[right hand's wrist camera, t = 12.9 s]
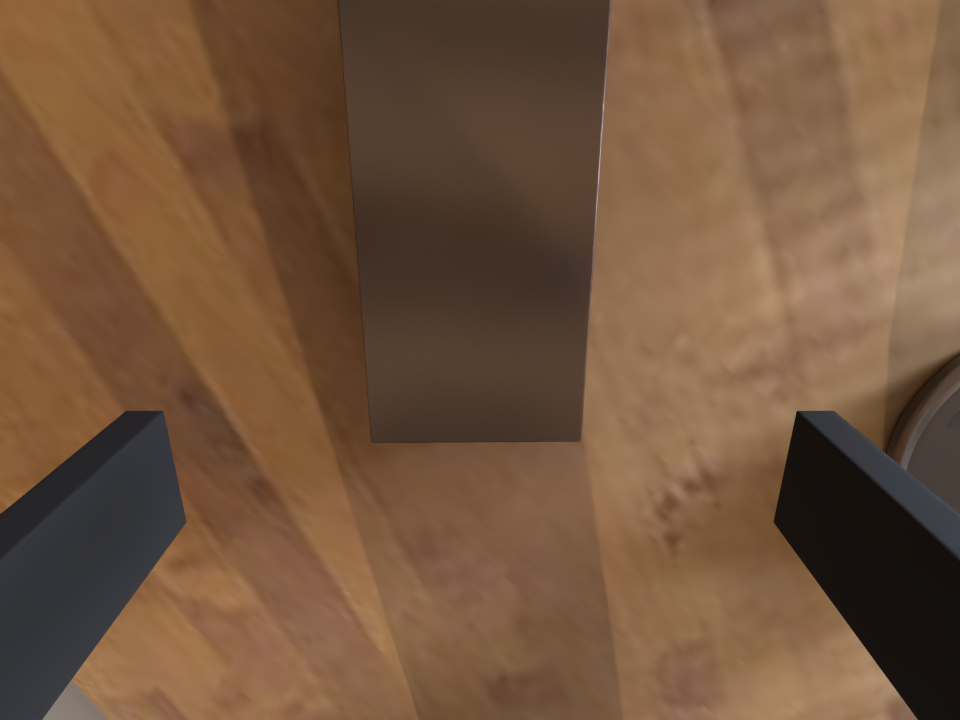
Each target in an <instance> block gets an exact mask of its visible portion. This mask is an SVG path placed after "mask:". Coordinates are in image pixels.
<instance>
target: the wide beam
mask: <svg viewBox="0 0 960 720" xmlns="http://www.w3.org/2000/svg"><path fill="white" fill-rule="evenodd" d="M610 12H611V0H338V13H339V26H340V39H341V52H342V65H343V78H344V91H345V104H346V118H347V131H348V144H349V157H350V170H351V183H352V196H353V209H354V222H355V236H356V249H357V262H358V275H359V288H360V301H361V314H362V327H363V341H364V354H365V367H366V380H367V393H368V406H369V419H370V432H371V442H372V443H427V442H580V441H581V435H582V420H583V406H584V391H585V377H586V362H587V347H588V333H589V318H590V304H591V289H592V274H593V260H594V245H595V231H596V216H597V202H598V187H599V172H600V158H601V143H602V129H603V114H604V100H605V85H606V70H607V56H608V41H609V27H610Z"/></svg>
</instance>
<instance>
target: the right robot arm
mask: <svg viewBox="0 0 960 720" xmlns="http://www.w3.org/2000/svg"><path fill="white" fill-rule="evenodd" d="M185 523H186V518H185V513H184V508H183V503H182V499H181V494H180V489H179V484H178V480H177V475H176V470H175V465H174V460H173V456H172V451H171V446H170V441H169V437H168V432H167V427H166V422H165V417H164V413H163V411H126V412H124V413H123V414H122V415H121V416H120V417H118V418H117V419H116V420H115V421H113V422H112V423H111V424H110V425H109V426H107V427H106V428H105V429H104V430H102V431H101V432H100V433H99V434H98V435H96V436H95V437H94V438H93V439H92V440H90V441H89V442H88V443H87V444H85V445H84V446H83V447H82V448H81V449H79V450H78V451H77V452H76V453H74V454H73V455H72V456H71V457H70V458H68V459H67V460H66V461H65V462H64V463H62V464H61V465H60V466H59V467H57V468H56V469H55V470H54V471H53V472H51V473H50V474H49V475H48V476H46V477H45V478H44V479H43V480H42V481H40V482H39V483H38V484H37V485H36V486H34V487H33V488H32V489H31V490H29V491H28V492H27V493H26V494H25V495H23V496H22V497H21V498H20V499H18V500H17V501H16V502H15V503H14V504H12V505H11V506H10V507H9V508H8V509H6V510H5V511H4V512H3V513H1V514H0V720H42V719H43V718H44V716H45V715H46V714H47V712H48V711H49V709H50V708H51V707H52V705H53V704H54V703H55V701H56V700H57V699H58V697H59V696H60V694H61V693H62V692H63V690H64V689H65V688H66V686H67V685H68V683H69V682H70V681H71V679H72V678H73V677H74V675H75V674H76V673H77V671H78V670H79V668H80V667H81V666H82V664H83V663H84V662H85V660H86V659H87V657H88V656H89V655H90V653H91V652H92V651H93V649H94V648H95V647H96V645H97V644H98V642H99V641H100V640H101V638H102V637H103V636H104V634H105V633H106V631H107V630H108V629H109V627H110V626H111V625H112V623H113V622H114V621H115V619H116V618H117V616H118V615H119V614H120V612H121V611H122V610H123V608H124V607H125V605H126V604H127V603H128V601H129V600H130V599H131V597H132V596H133V595H134V593H135V592H136V590H137V589H138V588H139V586H140V585H141V584H142V582H143V581H144V579H145V578H146V577H147V575H148V574H149V573H150V571H151V570H152V569H153V567H154V566H155V564H156V563H157V562H158V560H159V559H160V558H161V556H162V555H163V553H164V552H165V551H166V549H167V548H168V547H169V545H170V544H171V543H172V541H173V540H174V538H175V537H176V536H177V534H178V533H179V532H180V530H181V529H182V527H183V526H184V525H185ZM774 523H775V525H776V526H777V528H778V529H779V530H780V532H781V533H782V534H783V536H784V537H785V538H786V540H787V541H788V543H789V544H790V545H791V547H792V548H793V549H794V551H795V552H796V553H797V555H798V556H799V558H800V559H801V560H802V562H803V563H804V564H805V566H806V567H807V569H808V570H809V571H810V573H811V574H812V575H813V577H814V578H815V579H816V581H817V582H818V584H819V585H820V586H821V588H822V589H823V590H824V592H825V593H826V595H827V596H828V597H829V599H830V600H831V601H832V603H833V604H834V605H835V607H836V608H837V610H838V611H839V612H840V614H841V615H842V616H843V618H844V619H845V621H846V622H847V623H848V625H849V626H850V627H851V629H852V630H853V631H854V633H855V634H856V636H857V637H858V638H859V640H860V641H861V642H862V644H863V645H864V647H865V648H866V649H867V651H868V652H869V653H870V655H871V656H872V657H873V659H874V660H875V662H876V663H877V664H878V666H879V667H880V668H881V670H882V671H883V673H884V674H885V675H886V677H887V678H888V679H889V681H890V682H891V683H892V685H893V686H894V688H895V689H896V690H897V692H898V693H899V694H900V696H901V697H902V699H903V700H904V701H905V703H906V704H907V705H908V707H909V708H910V709H911V711H912V712H913V714H914V715H915V716H916V718H917V719H918V720H960V356H958V357H957V358H955V359H954V360H952V361H951V362H950V363H949V364H947V365H946V366H945V367H944V368H942V369H941V370H940V371H939V372H938V373H937V374H936V375H935V376H933V377H932V378H931V379H930V380H929V381H928V382H927V383H926V385H925V386H924V387H923V388H922V389H921V390H920V391H919V392H918V394H917V395H916V396H915V397H914V399H913V400H912V401H911V402H910V404H909V405H908V407H907V408H906V410H905V411H904V413H903V415H902V416H901V418H900V420H899V422H898V424H897V426H896V428H895V430H894V432H893V435H892V437H891V440H890V443H889V446H888V450H887V454H886V453H884V452H883V451H882V450H881V449H879V448H878V447H877V446H876V445H875V444H873V443H872V442H871V441H870V440H868V439H867V438H866V437H865V436H864V435H862V434H861V433H860V432H859V431H858V430H856V429H855V428H854V427H853V426H851V425H850V424H849V423H848V422H847V421H845V420H844V419H843V418H842V417H840V416H839V415H838V414H837V413H836V412H834V411H797V413H796V417H795V422H794V427H793V432H792V437H791V441H790V446H789V451H788V456H787V460H786V465H785V470H784V475H783V480H782V484H781V489H780V494H779V499H778V503H777V508H776V513H775V518H774Z"/></svg>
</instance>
